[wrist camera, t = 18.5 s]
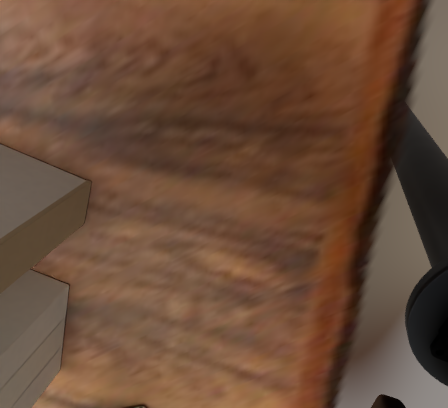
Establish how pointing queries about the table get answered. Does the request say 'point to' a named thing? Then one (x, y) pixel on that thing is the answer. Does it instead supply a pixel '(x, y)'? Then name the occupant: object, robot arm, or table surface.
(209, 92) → the table surface
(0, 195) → the book
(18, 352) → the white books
